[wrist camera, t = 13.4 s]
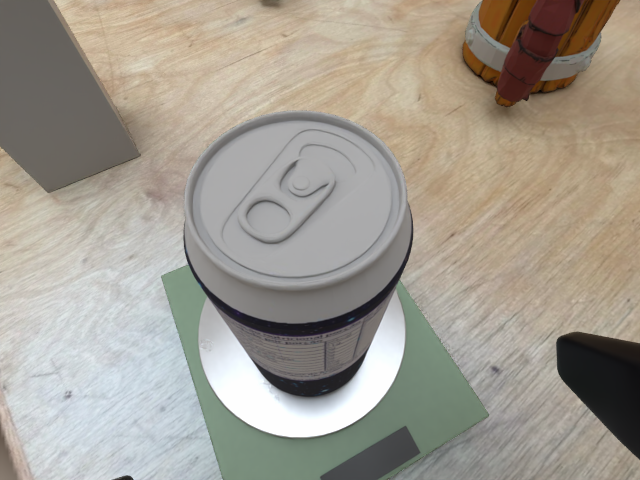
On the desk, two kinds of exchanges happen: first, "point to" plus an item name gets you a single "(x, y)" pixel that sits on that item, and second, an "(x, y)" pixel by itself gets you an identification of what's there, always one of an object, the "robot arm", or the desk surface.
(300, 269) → the beverage can
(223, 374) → the scale
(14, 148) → the perfume bottle
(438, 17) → the desk surface
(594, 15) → the mug
